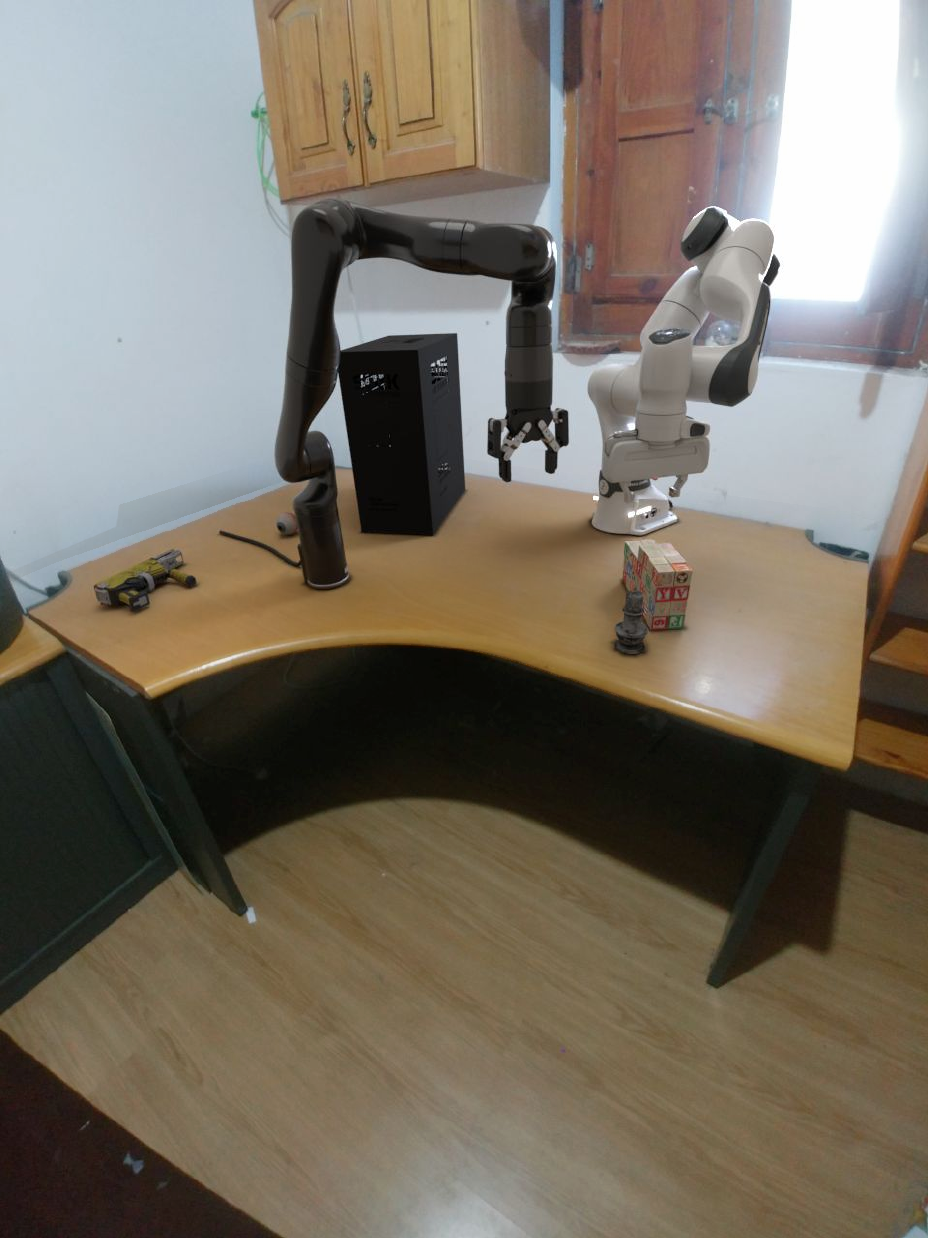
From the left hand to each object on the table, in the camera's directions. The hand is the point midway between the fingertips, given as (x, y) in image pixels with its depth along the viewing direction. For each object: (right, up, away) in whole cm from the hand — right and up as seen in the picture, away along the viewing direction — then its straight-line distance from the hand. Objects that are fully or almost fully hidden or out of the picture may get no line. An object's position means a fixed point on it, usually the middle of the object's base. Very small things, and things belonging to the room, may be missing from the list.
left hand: (528, 476), depth 103 cm
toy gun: (-81, -17, +37) cm, 91 cm away
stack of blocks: (+27, -21, +19) cm, 39 cm away
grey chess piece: (+19, -29, +6) cm, 35 cm away
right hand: (+26, -1, +15) cm, 30 cm away
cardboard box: (-25, +8, +74) cm, 79 cm away
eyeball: (-59, -1, +62) cm, 86 cm away
